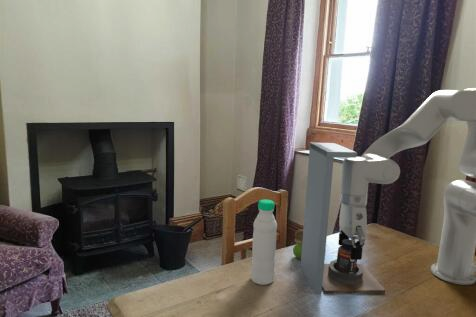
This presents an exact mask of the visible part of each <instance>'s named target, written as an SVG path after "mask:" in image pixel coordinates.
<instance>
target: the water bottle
mask: <svg viewBox="0 0 476 317" xmlns="http://www.w3.org/2000/svg"><path fill="white" fill-rule="evenodd" d="M257 208H258V211H259V212H258V213H257V216H256V217H255V219H254V222H253V231H252V232H253V234H252V246H251V248H252V249H251V250H252V251H251V252H252V257H251V271H250V279H251V280H252V282H253V283H255V284H256V285H257V284H258V285H262V286H265V285H269V284H272V282H273V281H274V280H275V265H276V264H275V263H276V261H275V260H276V259H275V256H276V249H277V247H276V246H277V230H278V223H277V221H276V219H275V215H274V213H273V212H274V209H275V202H274V200H271V199H260V200H258V204H257Z"/></svg>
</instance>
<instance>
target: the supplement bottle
mask: <svg viewBox="0 0 476 317" xmlns="http://www.w3.org/2000/svg"><path fill="white" fill-rule="evenodd" d="M351 246H353V245H352V240H351V239H350V238H349V239H345V240H343V241H342V245H339V247H338V248H337V256H336V260H337V264H336V270H338V271H340V272H343V273H356V267H357V264H358V260H351V258H350V256H351Z"/></svg>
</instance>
